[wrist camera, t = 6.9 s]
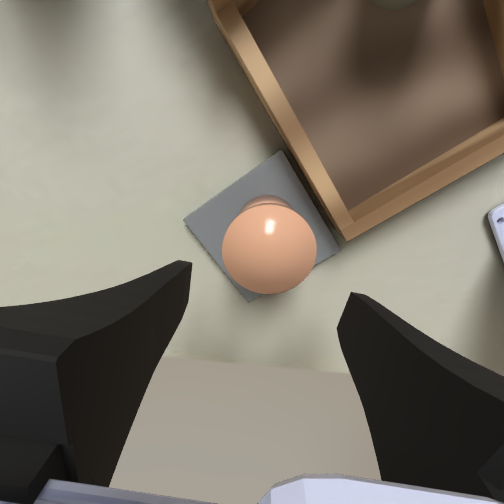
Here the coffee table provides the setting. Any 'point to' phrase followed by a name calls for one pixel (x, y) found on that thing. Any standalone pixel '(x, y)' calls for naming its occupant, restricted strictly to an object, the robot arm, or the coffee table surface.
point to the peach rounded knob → (269, 246)
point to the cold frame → (375, 94)
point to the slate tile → (243, 190)
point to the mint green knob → (394, 4)
